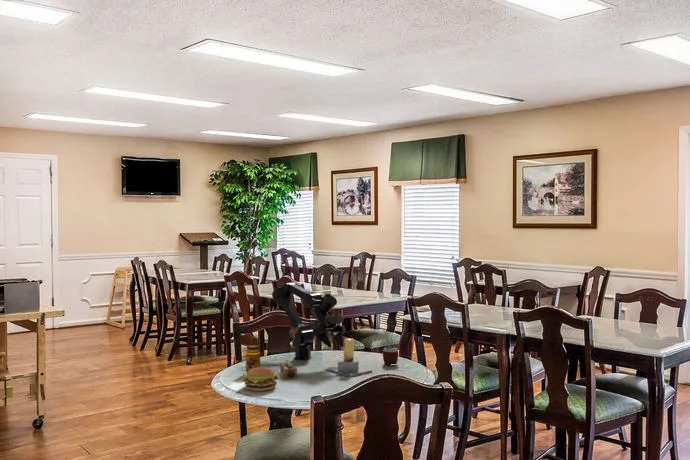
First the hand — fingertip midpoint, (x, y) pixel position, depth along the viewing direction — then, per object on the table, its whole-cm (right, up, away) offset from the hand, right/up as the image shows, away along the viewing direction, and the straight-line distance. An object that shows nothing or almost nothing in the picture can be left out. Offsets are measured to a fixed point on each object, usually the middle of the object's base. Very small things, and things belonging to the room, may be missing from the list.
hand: (336, 347), depth 291 cm
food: (-30, -10, -34) cm, 47 cm away
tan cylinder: (+5, -8, -7) cm, 12 cm away
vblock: (+5, -9, -7) cm, 13 cm away
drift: (-20, -6, -14) cm, 25 cm away
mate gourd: (+24, -9, +6) cm, 27 cm away
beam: (-21, -10, -14) cm, 27 cm away
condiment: (-36, -10, -11) cm, 39 cm away
